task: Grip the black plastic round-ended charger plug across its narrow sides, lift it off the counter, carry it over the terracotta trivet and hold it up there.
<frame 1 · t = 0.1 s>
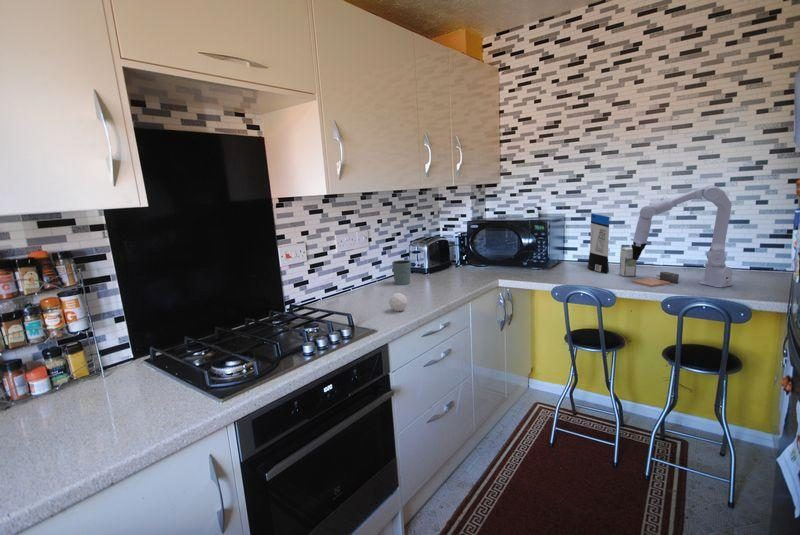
hand: (635, 258, 202), 10 cm above the worktop, tool pointing down, fingers open, 7 cm apart
syrup box: (627, 275, 213), on the worktop
green cup: (402, 283, 226), on the worktop
charger plug: (668, 281, 197), on the worktop
terracotta trivet: (650, 283, 196), on the worktop
ball: (398, 310, 178), on the worktop
protein powder: (598, 269, 230), on the worktop
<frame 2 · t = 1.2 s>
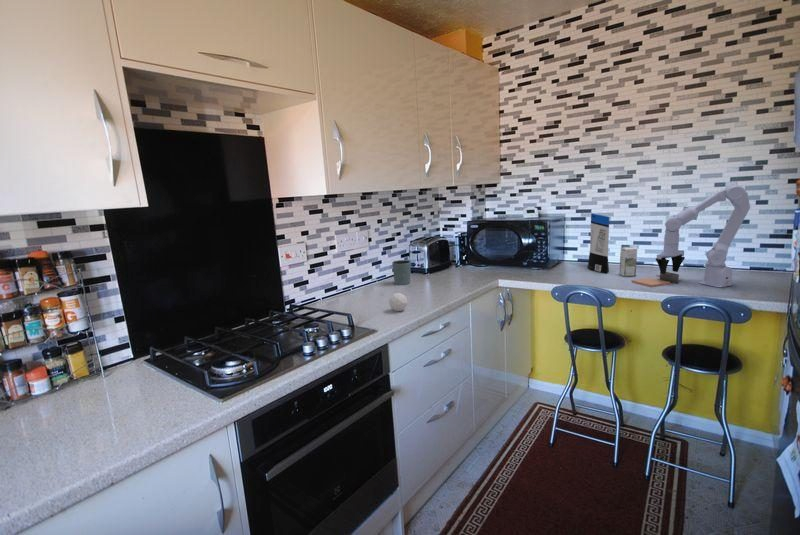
hand: (669, 272, 196), 4 cm above the worktop, tool pointing down, fingers open, 7 cm apart
nothing on the worktop moved.
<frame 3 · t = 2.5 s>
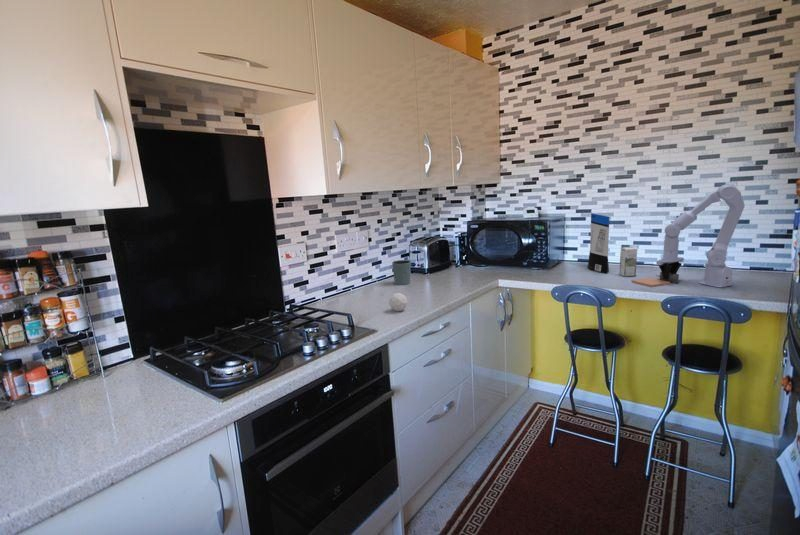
hand: (668, 278, 196), 2 cm above the worktop, tool pointing down, fingers closed on charger plug, 4 cm apart
charger plug: (668, 281, 197), on the worktop, touching gripper
everything else where it was.
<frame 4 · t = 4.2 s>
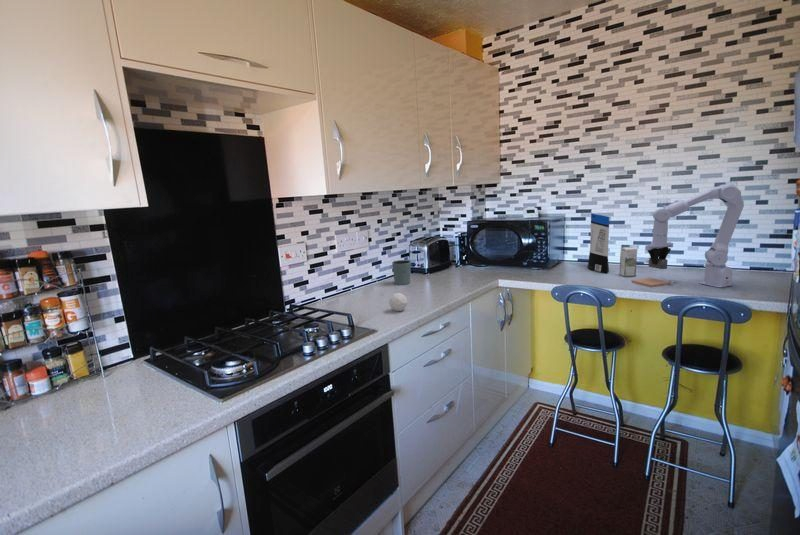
hand: (658, 263, 194), 9 cm above the worktop, tool pointing down, fingers closed on charger plug, 4 cm apart
charger plug: (657, 267, 195), point 7 cm above the worktop, touching gripper
everything else where it was.
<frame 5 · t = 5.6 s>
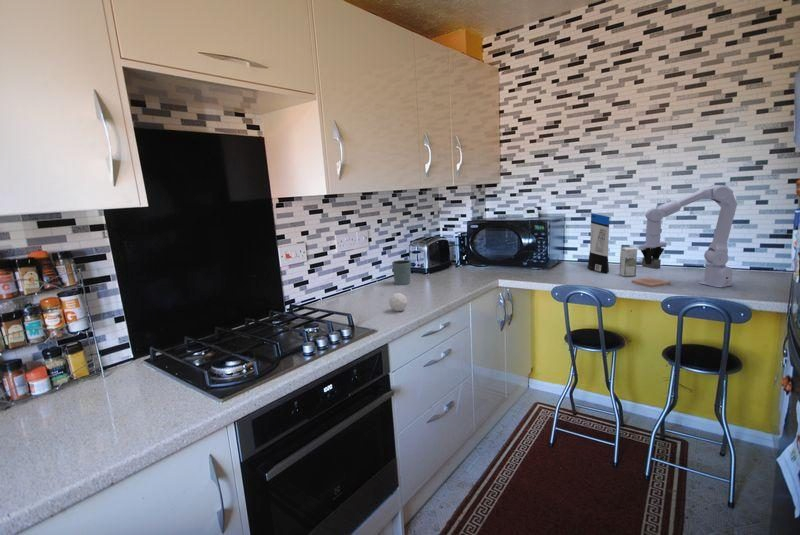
hand: (651, 263, 194), 9 cm above the worktop, tool pointing down, fingers closed on charger plug, 4 cm apart
charger plug: (650, 267, 194), point 8 cm above the worktop, touching gripper
everything else where it was.
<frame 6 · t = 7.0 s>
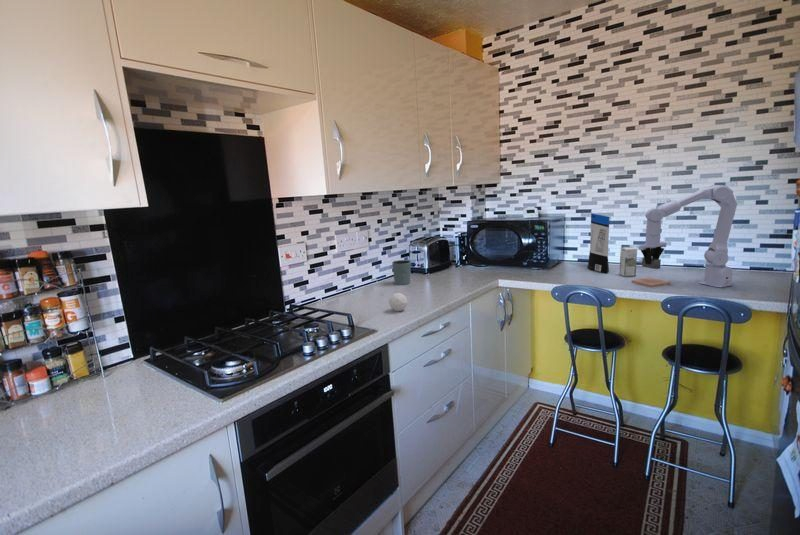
hand: (651, 263, 194), 9 cm above the worktop, tool pointing down, fingers closed on charger plug, 4 cm apart
charger plug: (650, 267, 194), point 8 cm above the worktop, touching gripper
everything else where it was.
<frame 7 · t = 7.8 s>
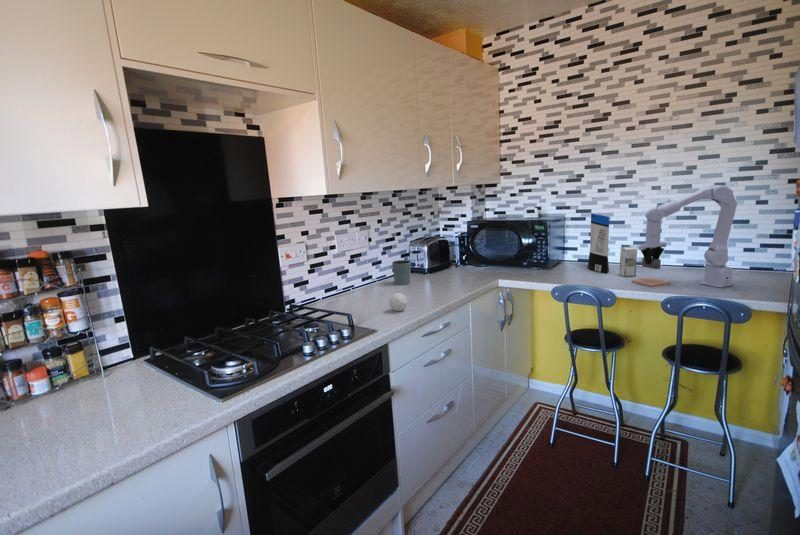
hand: (651, 263, 194), 9 cm above the worktop, tool pointing down, fingers closed on charger plug, 4 cm apart
charger plug: (650, 267, 194), point 8 cm above the worktop, touching gripper
everything else where it was.
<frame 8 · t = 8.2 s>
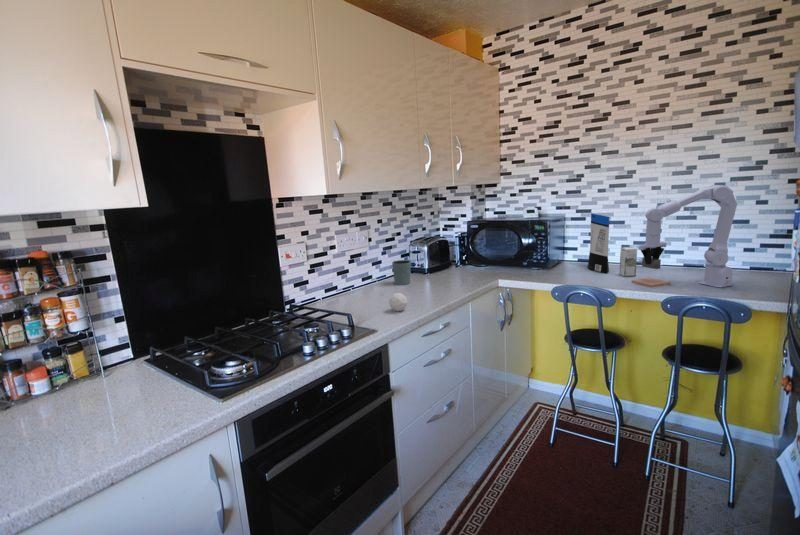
hand: (651, 263, 194), 9 cm above the worktop, tool pointing down, fingers closed on charger plug, 4 cm apart
charger plug: (650, 267, 194), point 8 cm above the worktop, touching gripper
everything else where it was.
at the end: the gripper is holding charger plug; charger plug point 7.7 cm above the worktop; charger plug inside the target area on the terracotta trivet (0.2 cm from its centre), point 7.7 cm above the terracotta trivet's base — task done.
